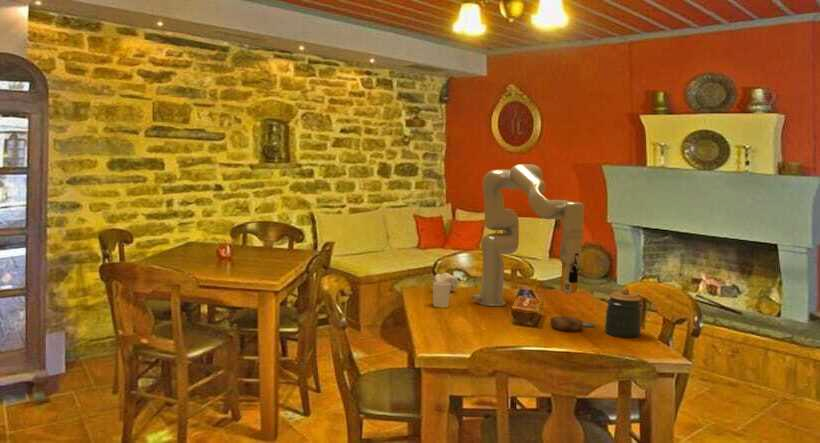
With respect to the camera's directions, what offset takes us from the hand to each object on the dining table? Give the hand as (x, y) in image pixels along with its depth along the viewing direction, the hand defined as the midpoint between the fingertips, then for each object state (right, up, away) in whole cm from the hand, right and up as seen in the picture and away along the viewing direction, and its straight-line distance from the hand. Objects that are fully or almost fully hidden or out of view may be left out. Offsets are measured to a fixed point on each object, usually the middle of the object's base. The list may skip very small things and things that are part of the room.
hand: (569, 280), depth 232 cm
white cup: (-48, -14, +30) cm, 58 cm away
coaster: (+9, -18, +7) cm, 22 cm away
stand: (-1, -19, +2) cm, 19 cm away
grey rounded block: (-45, -12, +58) cm, 74 cm away
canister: (+19, -20, -3) cm, 28 cm away
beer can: (0, -5, 0) cm, 5 cm away
